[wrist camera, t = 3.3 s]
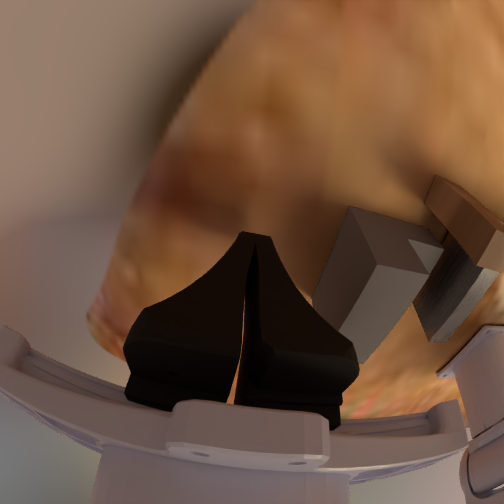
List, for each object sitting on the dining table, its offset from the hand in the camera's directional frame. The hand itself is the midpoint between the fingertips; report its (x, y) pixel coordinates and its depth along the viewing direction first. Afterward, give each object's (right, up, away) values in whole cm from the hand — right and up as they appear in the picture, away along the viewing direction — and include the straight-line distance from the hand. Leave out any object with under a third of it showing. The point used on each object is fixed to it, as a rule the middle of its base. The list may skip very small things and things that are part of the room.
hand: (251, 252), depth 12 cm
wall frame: (+15, +1, 0) cm, 15 cm away
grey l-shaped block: (+14, -1, +1) cm, 14 cm away
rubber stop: (+6, -1, +2) cm, 7 cm away
